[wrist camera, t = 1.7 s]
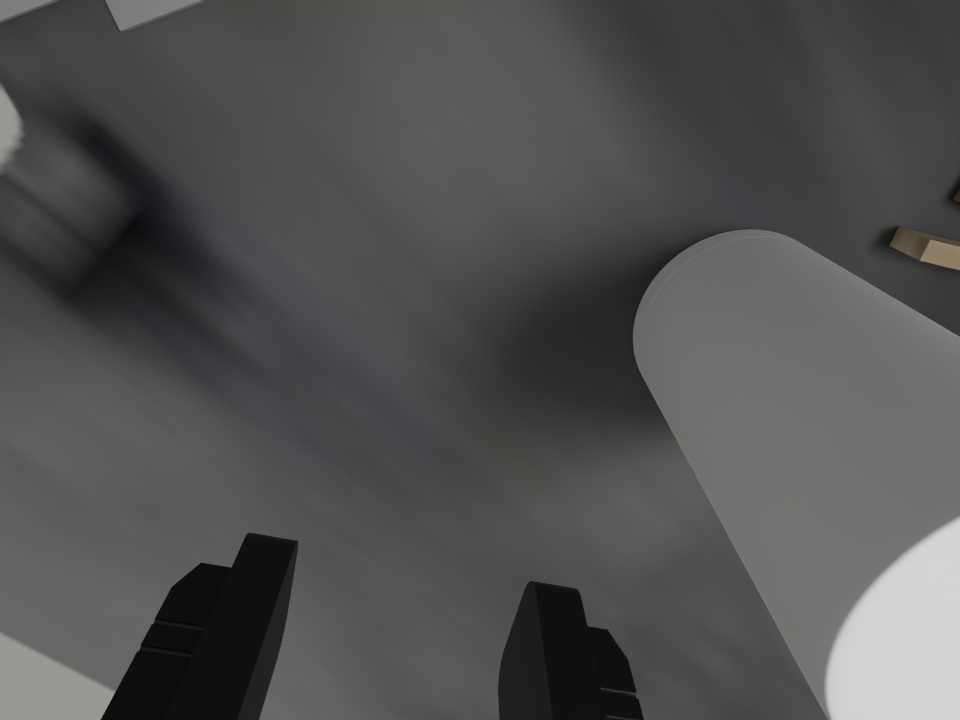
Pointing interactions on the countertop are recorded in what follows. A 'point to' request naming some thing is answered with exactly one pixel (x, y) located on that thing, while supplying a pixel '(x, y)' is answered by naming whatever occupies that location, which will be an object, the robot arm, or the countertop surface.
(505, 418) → the countertop surface
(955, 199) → the brown block piece
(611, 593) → the countertop surface
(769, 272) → the cylinder
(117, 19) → the test tube rack
